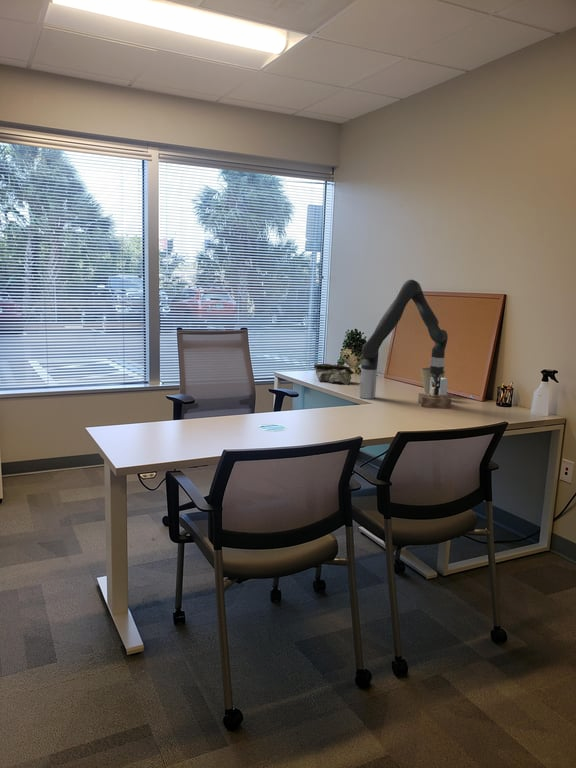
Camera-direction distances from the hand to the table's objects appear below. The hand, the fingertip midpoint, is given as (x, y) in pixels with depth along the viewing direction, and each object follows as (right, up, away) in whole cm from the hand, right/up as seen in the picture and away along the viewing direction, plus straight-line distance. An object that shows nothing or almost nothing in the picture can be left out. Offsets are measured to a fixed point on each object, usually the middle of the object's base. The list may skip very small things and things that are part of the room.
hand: (434, 393), depth 326 cm
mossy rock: (-53, +6, +68) cm, 86 cm away
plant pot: (+7, -1, +35) cm, 36 cm away
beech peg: (0, -7, +1) cm, 7 cm away
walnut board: (0, -7, +1) cm, 7 cm away
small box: (+6, -4, +18) cm, 20 cm away
